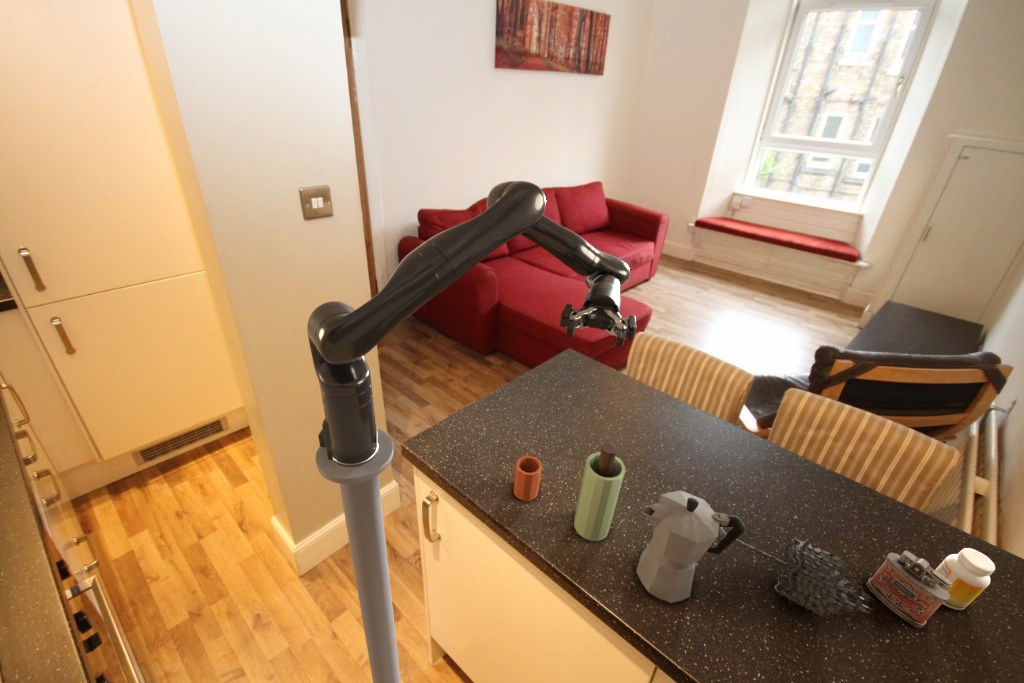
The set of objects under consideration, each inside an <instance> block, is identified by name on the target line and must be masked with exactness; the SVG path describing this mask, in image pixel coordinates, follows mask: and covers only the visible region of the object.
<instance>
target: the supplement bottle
mask: <svg viewBox="0 0 1024 683" xmlns="http://www.w3.org/2000/svg"><path fill="white" fill-rule="evenodd" d="M935 570H936V571H937V572H938V573H940V574H941V575H943V576H944V577H945V578H947V579H948V580H949V581H951V583H952V586H951V587H950V588H949V589H948V590H947V591H948V593H949V594H950V598H949V600H948V601H947V602H945V603H944V602H943V603H942V604H941V605H943V606H945V607H948V608H949V609H953V610H956V611H961V610H965V609H967V607H968V606H969V605H970V604H971V603H973V601H974V600H975V599H976V598H977V597H978V596H979V595H980V594H981V593H982V592H984V591H985V589H987V588H988V587H989V585H990V584H991V577H990V576H991V575H992V574H993V573H994V572H995V571H996V565H995V563H994V562H993V561H992V560H991V558H989V557H988V556H987V555H986V554H984V553H982V552H980V551H978V550H976V549H974V548H970V547H964V548H962V549H961V550H960V551H959V552H958V553H953V554H952V553H951V554H949V555H948V556H946V557H945V558H944V559H943V561H942V562H940V564H939V565H938V566H937V567H936V568H935Z"/></svg>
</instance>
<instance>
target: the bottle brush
mask: <svg viewBox="0 0 1024 683" xmlns="http://www.w3.org/2000/svg"><path fill="white" fill-rule="evenodd" d="M617 451H618V448H617V446H616V445H615V444H613V443H610V442H606V443H603V444H602V445H601V450H600V452H601V454H600V458H599V462H598V467H597V471H596V474H598V475H600V476H602V477H605V478H610V476H611V472H612V468H613V464H614V460H615V456H616V457H617Z"/></svg>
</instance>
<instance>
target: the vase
mask: <svg viewBox="0 0 1024 683" xmlns="http://www.w3.org/2000/svg"><path fill="white" fill-rule="evenodd" d="M600 454H601V451H597V452H592V453H591V454H590V455H588V456H587V458H586V460H585V465H584V469H583V474H582V478H581V484H580V490H579V492H578V493H579V494H578V497H577V503H576V507H575V513H574V518H573V526H574V529H575V531H576V532H577V534H578V535H579V536H580V537H582V538H583V539H585V540H588V541H590V542H597V541H598V542H599V541H602V540H604V539H605V538H607V537H608V535H609V533H610V530H611V529H610V528H611V525H612V521H613V518H614V514H615V510H616V507H617V504H618V499H619V496H620V491H621V488H622V485H623V481H624V477H625V474H626V467H625V464H624V462H623V461H622V459H620V458H619V457H617V455H616V456H615V460H614V464H613V468H612V472H611V476H610V478H605V477H602V476H600V475H598V474H596V471H597V467H598V462H599V458H600Z"/></svg>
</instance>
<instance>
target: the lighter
mask: <svg viewBox="0 0 1024 683" xmlns="http://www.w3.org/2000/svg"><path fill="white" fill-rule="evenodd" d="M951 586H952V583H951V581H949V580H948V579H947V578H945V577H944V576H943V575H941V574H940V573H938V572H937V571H936V569H934V568H933V567H931V565H930V562H929V561H928V560H926V559H925V558H918V557H917V556H915V554H913V553H911V552H910V551H909V550H904V551H903V552H902V553H901V555H900V554H898V553H895V552H889V553H888V554H887V556H886V557H885V560H884V562H883V563H882V565H881V566H880V567H879V568H878V570H877V571H876V572H875V573H874V575H873V576H872V577H869V578H868V580H867V582H866V587H867V588H868V589H869V591H870V592H871V593H872V594H873V595H874V596H875V597H876V598H877V599H878V600H879V601H881V602H882V603H883V604H884V605H885V606H886V607H887V608H889V609H890V610H891V611H892V612H893V613H894V614H896V615H898V616H899V617H900V618H901V619H903V620H904V621H906V622H907V623H909V624H910V625H911V626H913V627H915V628H921V629H922V628H923V627H924V626H925V625H926V624H927V620H928V619H929V618H930V617H931V616H932V615H933V614H934V613H935V612H936V611H937V610H938V609H939V608H940V607H941V606H942V605H943V604H942V603H943V602H944V603H945V602H947V601H948V600H949V598H950V594H949V593H948V591H947V590H948V589H949V588H950V587H951Z"/></svg>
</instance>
